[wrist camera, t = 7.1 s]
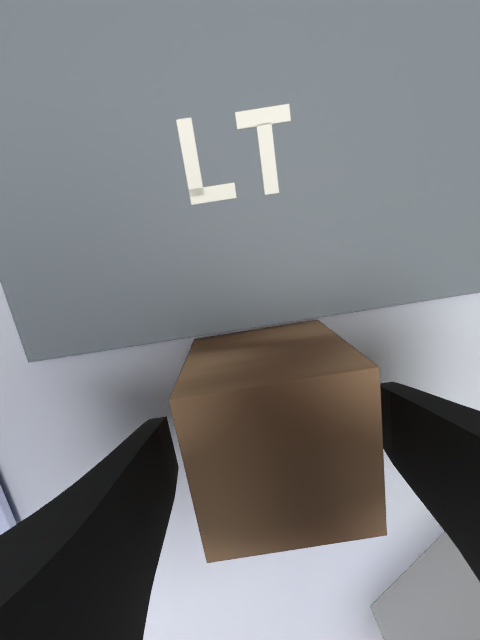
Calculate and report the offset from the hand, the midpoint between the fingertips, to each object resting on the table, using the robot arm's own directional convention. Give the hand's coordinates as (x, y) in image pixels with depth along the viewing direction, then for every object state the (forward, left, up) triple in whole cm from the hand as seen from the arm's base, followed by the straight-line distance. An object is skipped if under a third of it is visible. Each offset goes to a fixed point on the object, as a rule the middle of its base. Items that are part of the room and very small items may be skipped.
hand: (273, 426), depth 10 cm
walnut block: (0, 0, -2) cm, 3 cm away
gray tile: (0, +9, -2) cm, 9 cm away
